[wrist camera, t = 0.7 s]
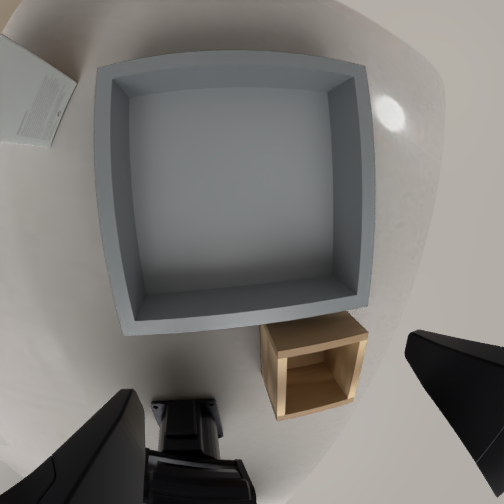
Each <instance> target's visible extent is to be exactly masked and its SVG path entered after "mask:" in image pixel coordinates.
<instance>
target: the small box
mask: <svg viewBox="0 0 504 504" xmlns="http://www.w3.org/2000/svg"><path fill="white" fill-rule="evenodd" d="M76 85H77V83H76V82H75V81H74V80H72V79H71V78H69V77H68V76H67V75H65V74H64V73H62V72H61V71H59V70H58V69H56V68H55V67H53V66H52V65H50V64H49V63H47V62H46V61H44V60H43V59H41V58H40V57H38V56H36V55H35V54H33V53H32V52H30V51H29V50H27V49H26V48H24V47H22V46H21V45H19V44H18V43H16V42H14V41H13V40H11V39H10V38H8V37H6V36H5V35H3V34H0V142H4V143H12V144H22V145H30V146H39V147H48V148H49V147H50V146H51V143H52V140H53V138H54V135H55V132H56V130H57V127H58V125H59V122H60V120H61V117H62V115H63V112H64V110H65V108H66V106H67V103H68V101H69V99H70V97H71V95H72V93H73V90H74V88H75V86H76Z"/></svg>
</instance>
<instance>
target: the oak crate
mask: <svg viewBox="0 0 504 504" xmlns="http://www.w3.org/2000/svg"><path fill="white" fill-rule="evenodd" d="M259 326H260V350H261V374H262V377H263V380H264V383H265V387H266V390H267V393H268V396H269V399H270V402H271V405H272V408H273V411H274V414H275V417H276V420H277V421H281V420H286V419H290V418H295V417H299V416H304V415H308V414H312V413H316V412H320V411H323V410H327V409H331V408H334V407H337V406H341V405H344V404H347V403H350V402H353V399H354V396H355V392H356V388H357V384H358V380H359V376H360V372H361V367H362V363H363V358H364V353H365V348H366V343H367V338H368V331H367V330H366V329H365V328H364V327H363V326H362V325H360V324H359V323H358V322H357V321H356V320H355V319H354V318H353V317H352V316H351V315H350V314H349V313H348V312H347V311H341V312H335V313H330V314H325V315H319V316H314V317H308V318H302V319H296V320H289V321H283V322H276V323H269V324H262V325H259Z"/></svg>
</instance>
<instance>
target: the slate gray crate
mask: <svg viewBox="0 0 504 504" xmlns="http://www.w3.org/2000/svg"><path fill="white" fill-rule="evenodd" d="M94 166H95V183H96V195H97V205H98V214H99V222H100V230H101V237H102V243H103V249H104V255H105V260H106V266H107V271H108V276H109V280H110V285H111V289H112V294H113V298H114V302H115V306H116V310H117V314H118V317H119V321H120V325H121V328H122V332H123V335H124V336H135V335H156V334H173V333H186V332H198V331H209V330H219V329H229V328H238V327H246V326H254V325H262V324H269V323H276V322H283V321H289V320H296V319H302V318H308V317H314V316H319V315H325V314H330V313H335V312H341V311H346V310H351V309H356V308H360V307H365V306H368V300H369V292H370V283H371V274H372V262H373V249H374V232H375V153H374V136H373V123H372V113H371V104H370V95H369V88H368V81H367V74H366V68H365V66H363V65H359V64H355V63H350V62H345V61H341V60H335V59H330V58H324V57H318V56H311V55H304V54H296V53H286V52H274V51H257V50H212V51H195V52H183V53H174V54H165V55H158V56H151V57H145V58H140V59H134V60H129V61H124V62H120V63H115V64H111V65H107V66H103V67H99V68H97V78H96V89H95V105H94Z"/></svg>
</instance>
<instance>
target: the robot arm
mask: <svg viewBox="0 0 504 504" xmlns="http://www.w3.org/2000/svg"><path fill="white" fill-rule="evenodd" d="M405 358H406V359H407V361H408V363H409V364H410V366H411V367H412V369H413V371H414V373H415V374H416V376H417V378H418V379H419V381H420V382H421V384H422V386H423V387H424V389H425V390H426V392H427V393H428V395H429V396H430V397H431V399H432V400H433V401H434V403H435V404H436V405H437V407H438V408H439V410H440V411H441V412H442V414H443V415H444V416H445V418H446V419H447V420H448V422H449V424H450V425H451V427H452V428H453V429H454V431H455V432H456V434H457V435H458V437H459V438H460V440H461V441H462V443H463V444H464V446H465V447H466V449H467V450H468V452H469V453H470V455H471V456H472V458H473V459H474V461H475V462H476V464H477V466H478V467H479V469H480V471H481V472H482V474H483V476H484V477H485V479H486V481H487V482H488V484H489V486H490V487H491V489H492V490H493V492H494V494H495V496H496V497H499V496H500V495H501V494H502V493H504V347H500V346H496V345H490V344H485V343H480V342H475V341H470V340H465V339H460V338H455V337H451V336H446V335H441V334H437V333H433V332H428V331H424V330H416V331H413V332H411V333H410V334H409V335H408V339H407V344H406V348H405ZM151 409H152V411H153V414H154V416H155V418H156V420H157V423H158V425H159V427H160V433H159V445H158V451H154V450H149V448H145V414H144V409H143V406H142V404H141V402H140V400H139V398H138V395H137V393H136V391H135V390H134V389H121V390H120V391H118V392H117V393H116V394H115V395H114V396H113V397H112V398H111V399H110V400H109V401H108V402H107V403H106V404H105V405H104V406H103V407H102V408H101V409H100V410H99V411H97V412H96V413H95V414H94V415H93V416H92V417H91V418H90V419H89V420H88V421H87V422H86V423H85V424H84V425H83V426H82V427H81V428H80V429H79V430H77V431H76V432H75V433H74V434H73V435H72V436H71V437H70V438H69V439H68V440H67V441H66V442H65V443H64V444H63V445H62V446H61V447H59V448H58V449H57V450H56V451H55V452H54V453H53V454H52V456H50V457H49V458H48V459H47V460H46V461H44V462H43V463H42V464H41V465H40V466H39V467H38V468H37V469H35V470H34V471H33V472H32V473H31V474H29V475H28V476H27V477H25V478H24V479H23V480H21V481H20V482H19V483H17V484H16V485H14V486H13V487H11V488H10V489H9V490H7V491H6V492H4V493H3V494H1V495H0V504H256V493H255V489H254V487H253V485H252V482H251V480H250V478H249V476H248V474H247V471H246V469H245V467H244V465H243V462H242V460H238V459H235V460H222V459H220V452H219V444H218V438H221V437H223V432H222V427H221V423H220V418H219V413H218V408H217V404H216V400H215V399H197V400H180V401H153V402H151Z"/></svg>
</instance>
